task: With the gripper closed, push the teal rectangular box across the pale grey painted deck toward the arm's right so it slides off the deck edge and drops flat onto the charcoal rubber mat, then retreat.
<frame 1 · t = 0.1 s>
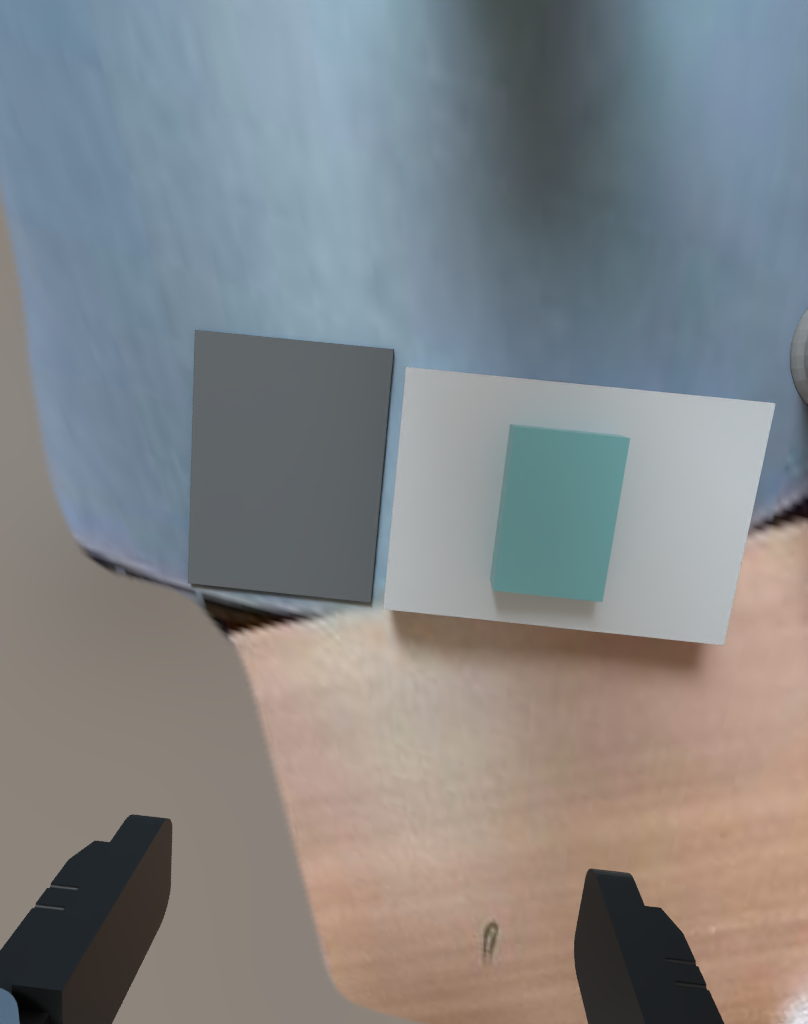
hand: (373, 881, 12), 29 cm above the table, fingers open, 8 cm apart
deck: (556, 498, 40), on the table
teal rectangular box: (552, 509, 36), point 4 cm above the table, touching deck
mat: (287, 470, 40), on the table
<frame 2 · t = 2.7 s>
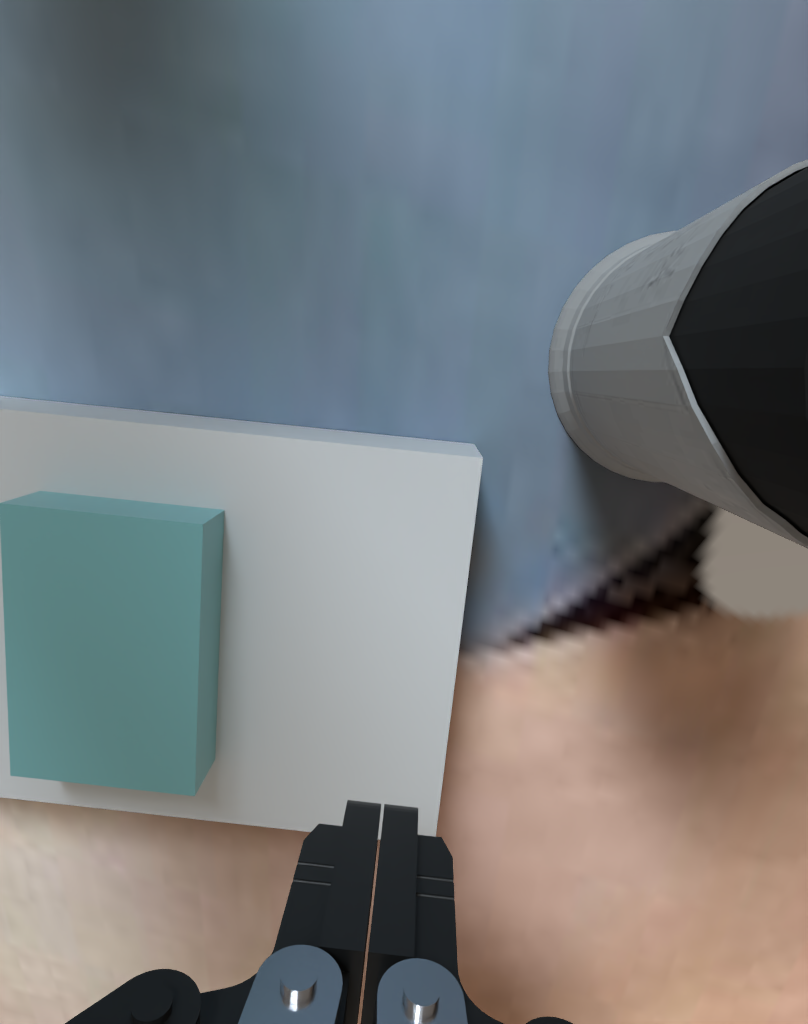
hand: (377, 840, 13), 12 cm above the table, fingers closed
glass holder: (720, 296, 22), on the table
deck: (202, 593, 25), on the table
teal rectangular box: (131, 630, 21), point 4 cm above the table, touching deck
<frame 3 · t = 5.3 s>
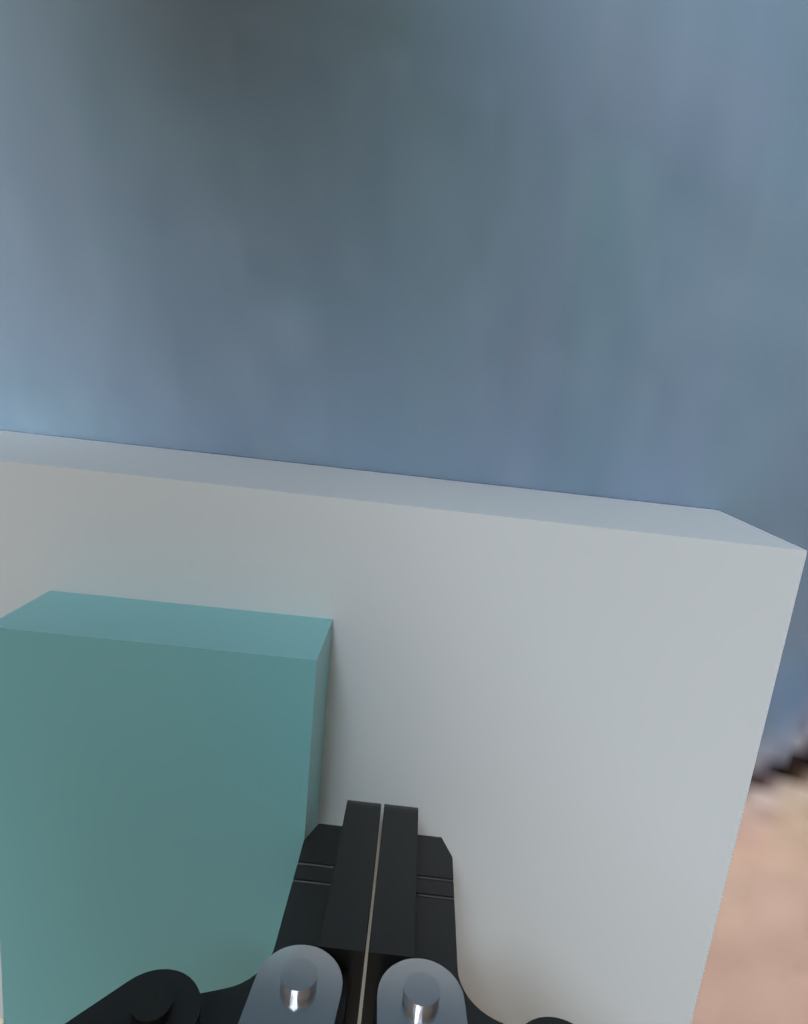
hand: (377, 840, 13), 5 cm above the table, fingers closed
deck: (315, 710, 18), on the table
teal rectangular box: (186, 794, 14), point 4 cm above the table, touching deck
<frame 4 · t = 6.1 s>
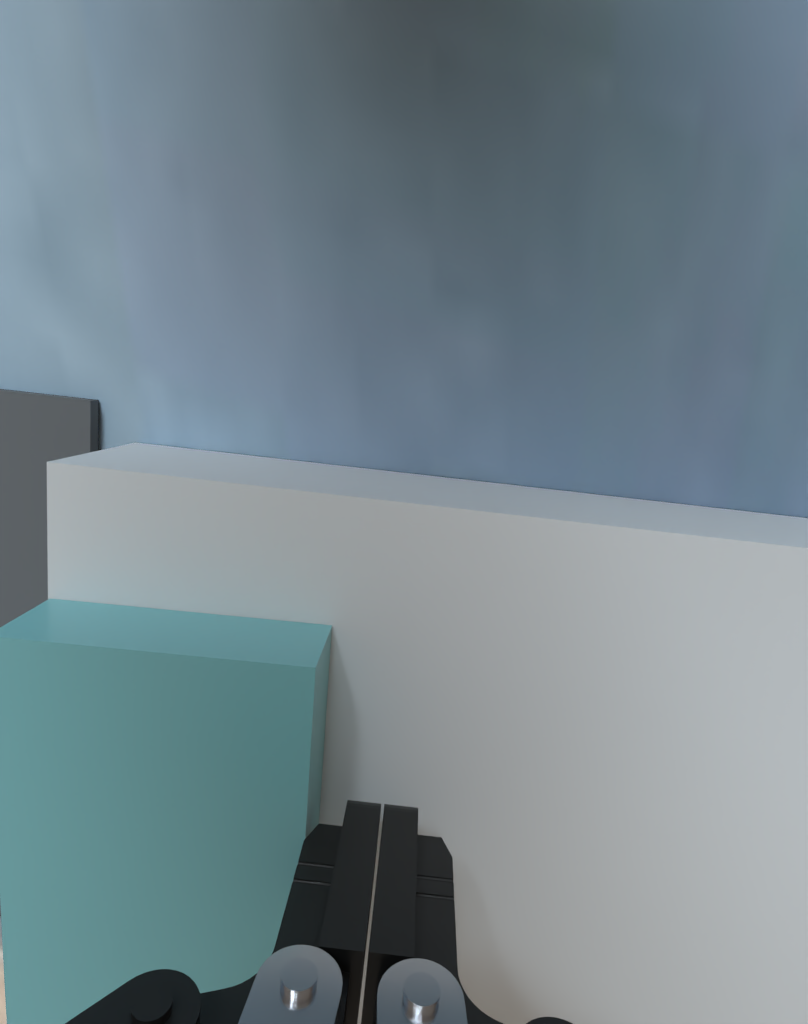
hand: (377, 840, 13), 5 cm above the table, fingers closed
deck: (478, 726, 18), on the table
teal rectangular box: (187, 800, 14), point 4 cm above the table, touching gripper
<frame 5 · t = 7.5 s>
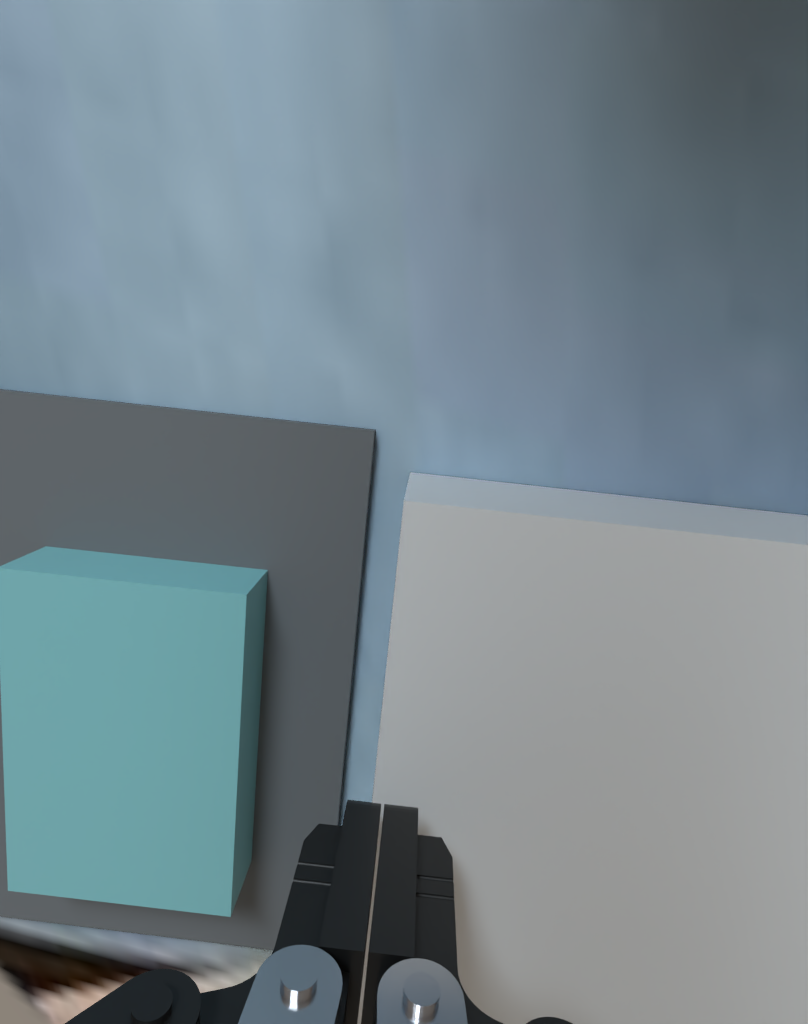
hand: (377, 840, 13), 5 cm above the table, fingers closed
deck: (737, 756, 18), on the table
teal rectangular box: (119, 751, 16), point 2 cm above the table, tilted 180°, touching mat
mat: (141, 686, 18), on the table
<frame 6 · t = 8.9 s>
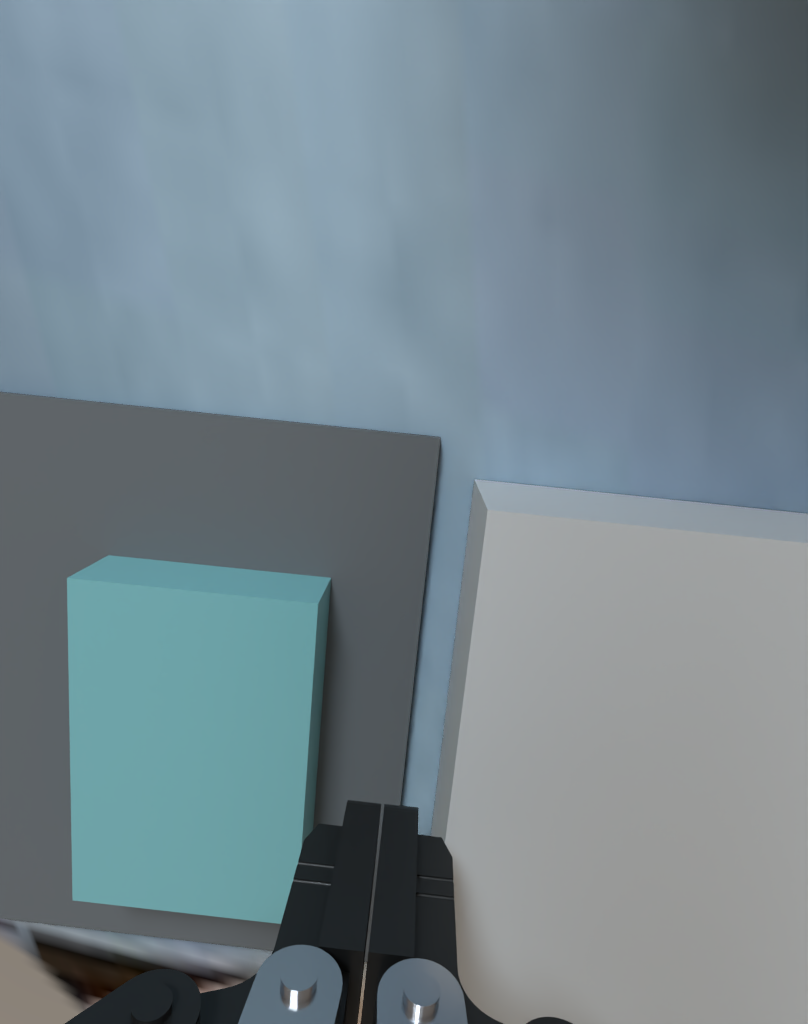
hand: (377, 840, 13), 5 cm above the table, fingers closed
deck: (799, 761, 18), on the table
teal rectangular box: (187, 761, 16), point 2 cm above the table, tilted 180°, touching mat
mat: (200, 694, 18), on the table
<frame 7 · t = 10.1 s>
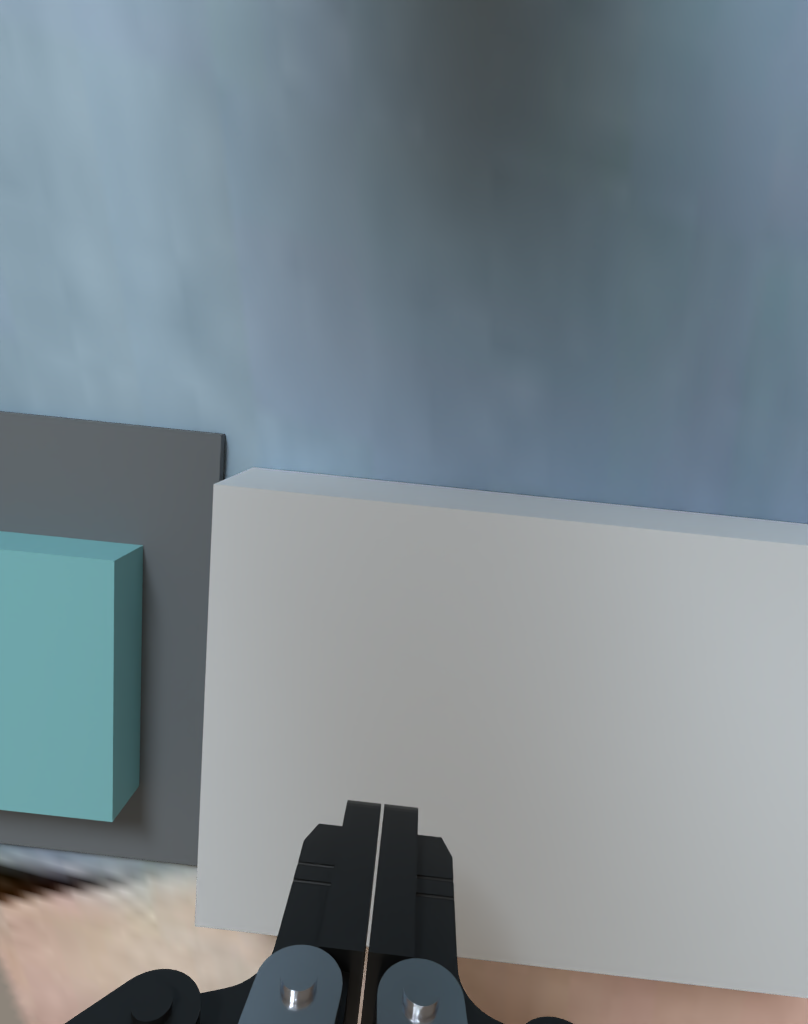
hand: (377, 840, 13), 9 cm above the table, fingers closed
deck: (525, 694, 22), on the table
teal rectangular box: (20, 687, 20), point 2 cm above the table, tilted 180°, touching mat
mat: (48, 642, 23), on the table
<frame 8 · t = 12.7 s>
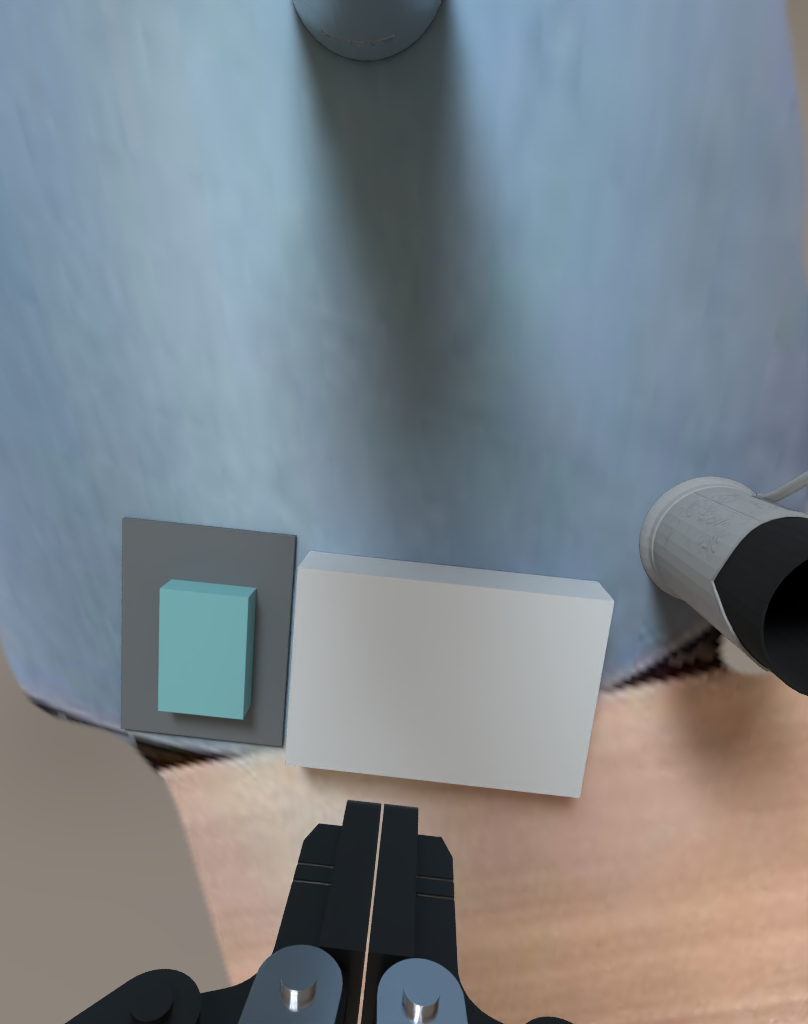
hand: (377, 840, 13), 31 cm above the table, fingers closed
glass holder: (730, 507, 43), on the table
deck: (442, 659, 46), on the table
teal rectangular box: (202, 655, 44), point 2 cm above the table, tilted 180°, touching mat
mat: (206, 634, 46), on the table
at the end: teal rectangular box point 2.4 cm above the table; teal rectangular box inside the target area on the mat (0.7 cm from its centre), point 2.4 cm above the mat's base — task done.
